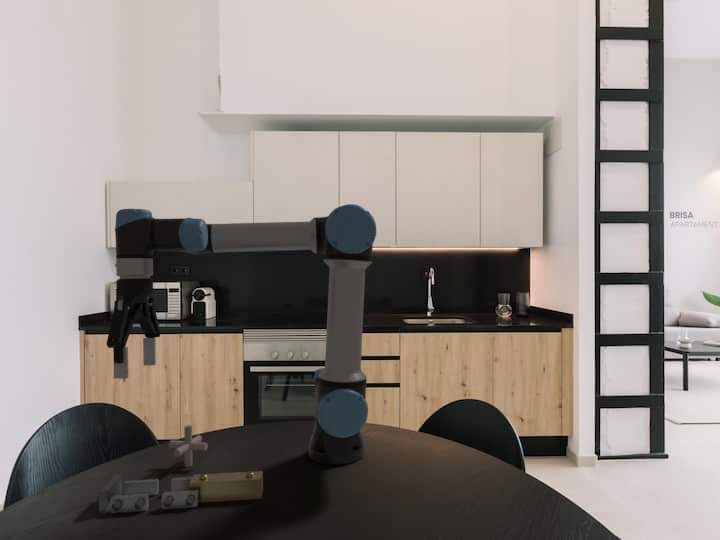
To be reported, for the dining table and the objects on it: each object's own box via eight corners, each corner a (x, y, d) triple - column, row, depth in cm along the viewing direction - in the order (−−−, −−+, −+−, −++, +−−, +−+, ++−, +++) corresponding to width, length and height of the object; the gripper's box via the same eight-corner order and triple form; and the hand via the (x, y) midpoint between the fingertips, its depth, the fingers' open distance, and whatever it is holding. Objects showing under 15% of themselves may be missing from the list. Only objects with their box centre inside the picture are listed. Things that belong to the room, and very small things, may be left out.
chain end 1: (159, 491, 103) (159, 471, 103) (145, 512, 93) (145, 490, 94) (116, 494, 101) (116, 473, 101) (97, 515, 92) (97, 493, 92)
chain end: (205, 488, 104) (205, 474, 104) (196, 508, 95) (196, 494, 95) (173, 490, 103) (173, 476, 103) (161, 511, 94) (160, 496, 94)
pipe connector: (195, 475, 110) (195, 434, 110) (158, 472, 112) (158, 431, 112) (216, 458, 120) (216, 420, 120) (182, 456, 122) (182, 418, 122)
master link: (263, 491, 103) (262, 468, 103) (260, 500, 99) (260, 476, 99) (194, 494, 101) (194, 471, 101) (189, 504, 97) (189, 480, 97)
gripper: (143, 277, 116) (145, 360, 116) (86, 278, 91) (87, 384, 91) (173, 276, 116) (174, 360, 116) (123, 278, 91) (125, 384, 91)
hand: (136, 371), depth 104 cm, fingers open, 13 cm apart
